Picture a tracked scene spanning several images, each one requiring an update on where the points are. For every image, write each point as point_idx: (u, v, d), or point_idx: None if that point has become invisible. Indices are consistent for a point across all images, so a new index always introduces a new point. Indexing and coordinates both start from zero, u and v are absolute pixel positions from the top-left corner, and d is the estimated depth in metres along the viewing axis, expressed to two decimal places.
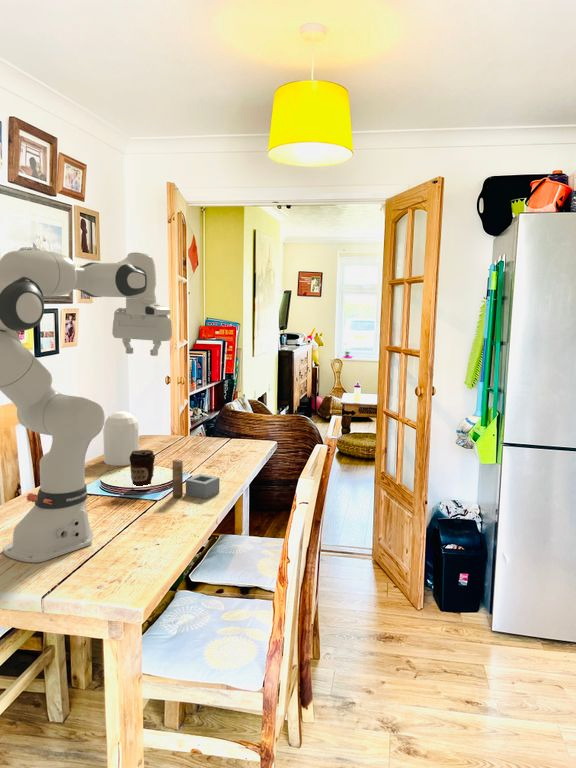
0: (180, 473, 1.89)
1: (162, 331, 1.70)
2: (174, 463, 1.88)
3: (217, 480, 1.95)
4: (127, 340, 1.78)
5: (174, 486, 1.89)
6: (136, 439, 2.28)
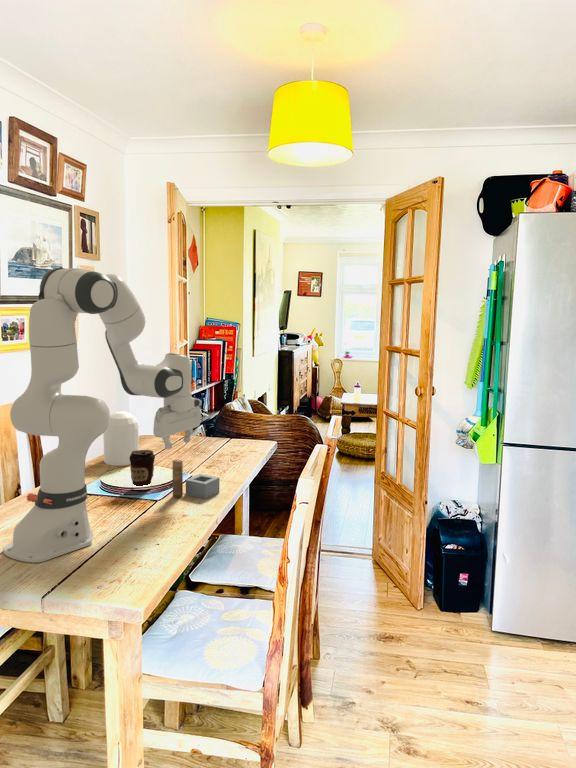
0: (180, 473, 1.89)
1: (200, 418, 1.95)
2: (174, 463, 1.88)
3: (217, 480, 1.95)
4: None
5: (174, 486, 1.89)
6: (136, 439, 2.28)
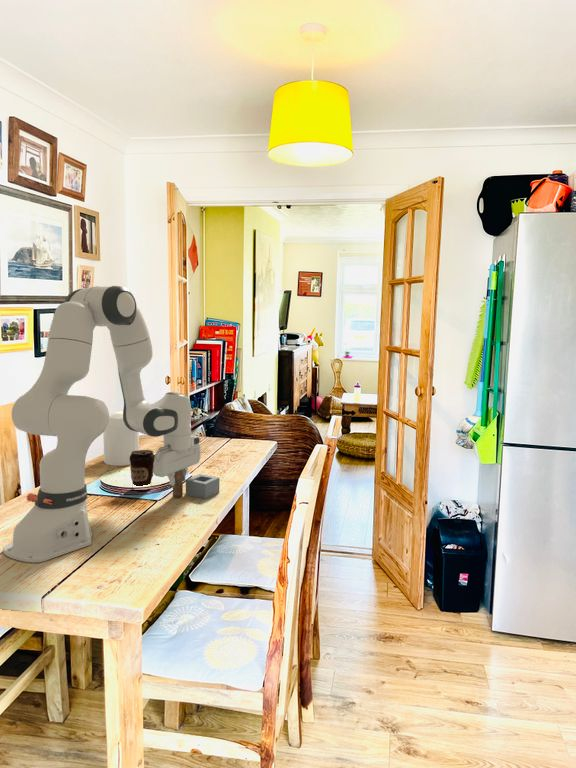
0: (180, 473, 1.89)
1: None
2: None
3: (217, 480, 1.95)
4: None
5: (174, 486, 1.89)
6: (136, 439, 2.28)
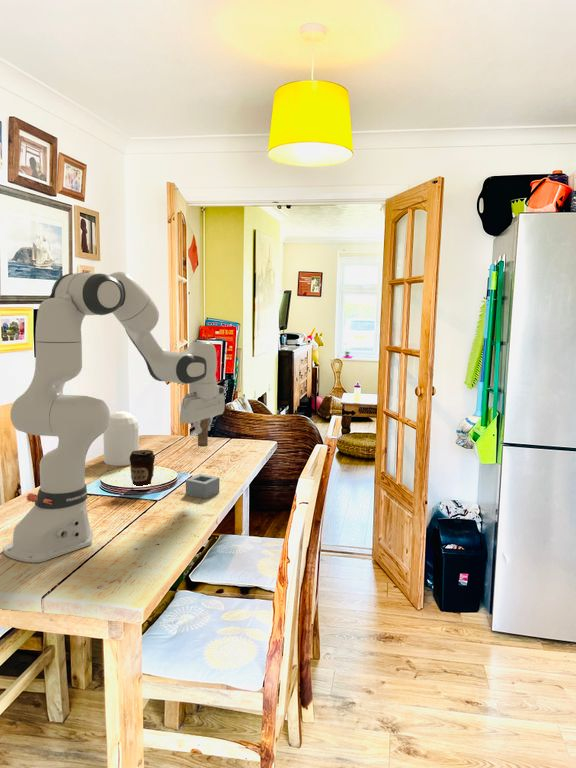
0: (205, 421, 1.90)
1: (224, 405, 1.98)
2: None
3: (217, 480, 1.95)
4: None
5: (200, 435, 1.91)
6: (136, 439, 2.28)
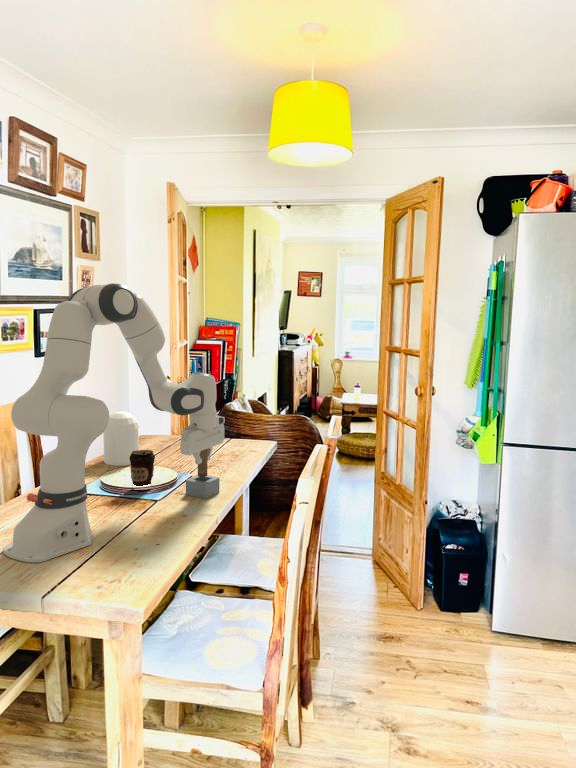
0: (205, 452, 1.92)
1: None
2: None
3: (217, 480, 1.95)
4: None
5: (199, 465, 1.92)
6: (136, 439, 2.28)
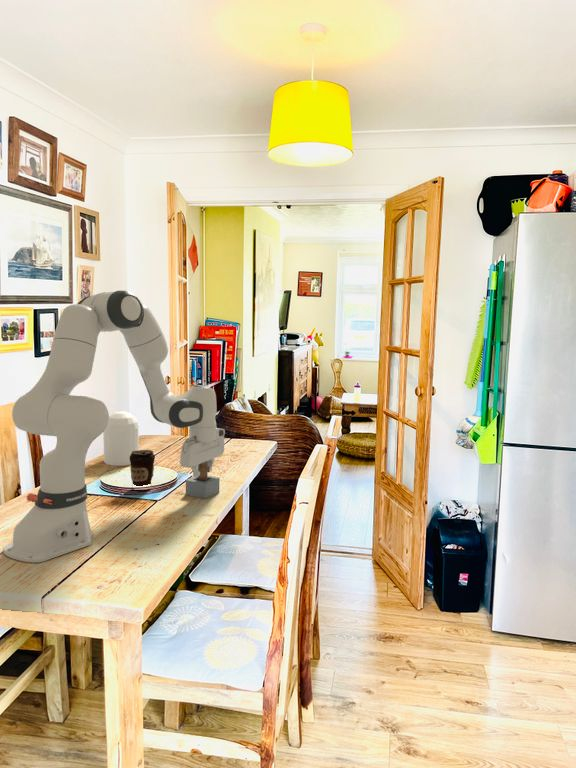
0: (205, 470, 1.93)
1: None
2: None
3: (217, 480, 1.95)
4: None
5: None
6: (136, 439, 2.28)
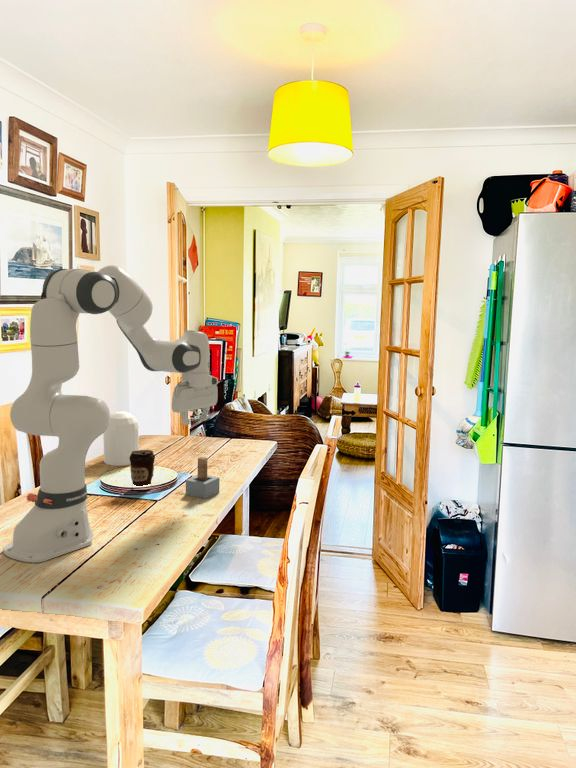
0: (205, 470, 1.93)
1: (217, 396, 1.97)
2: (199, 460, 1.92)
3: (217, 480, 1.95)
4: None
5: None
6: (136, 439, 2.28)
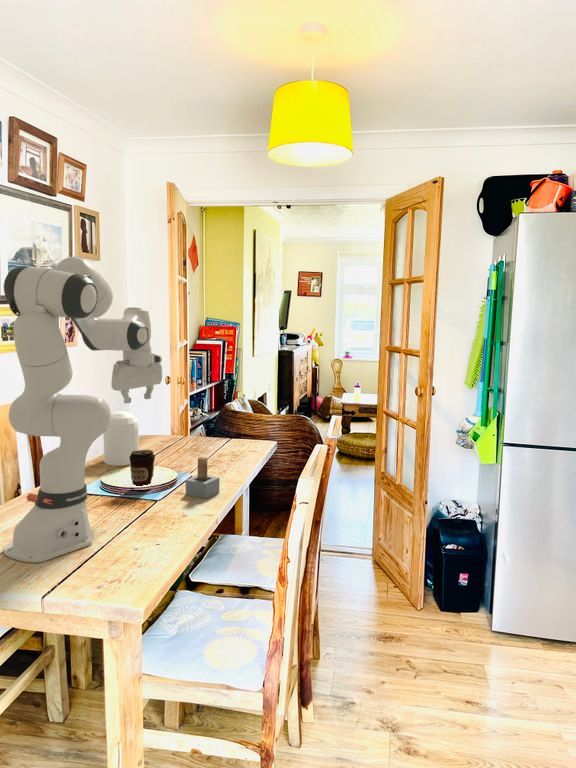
0: (205, 470, 1.93)
1: (161, 375, 1.95)
2: (199, 460, 1.92)
3: (217, 480, 1.95)
4: None
5: None
6: (136, 439, 2.28)
